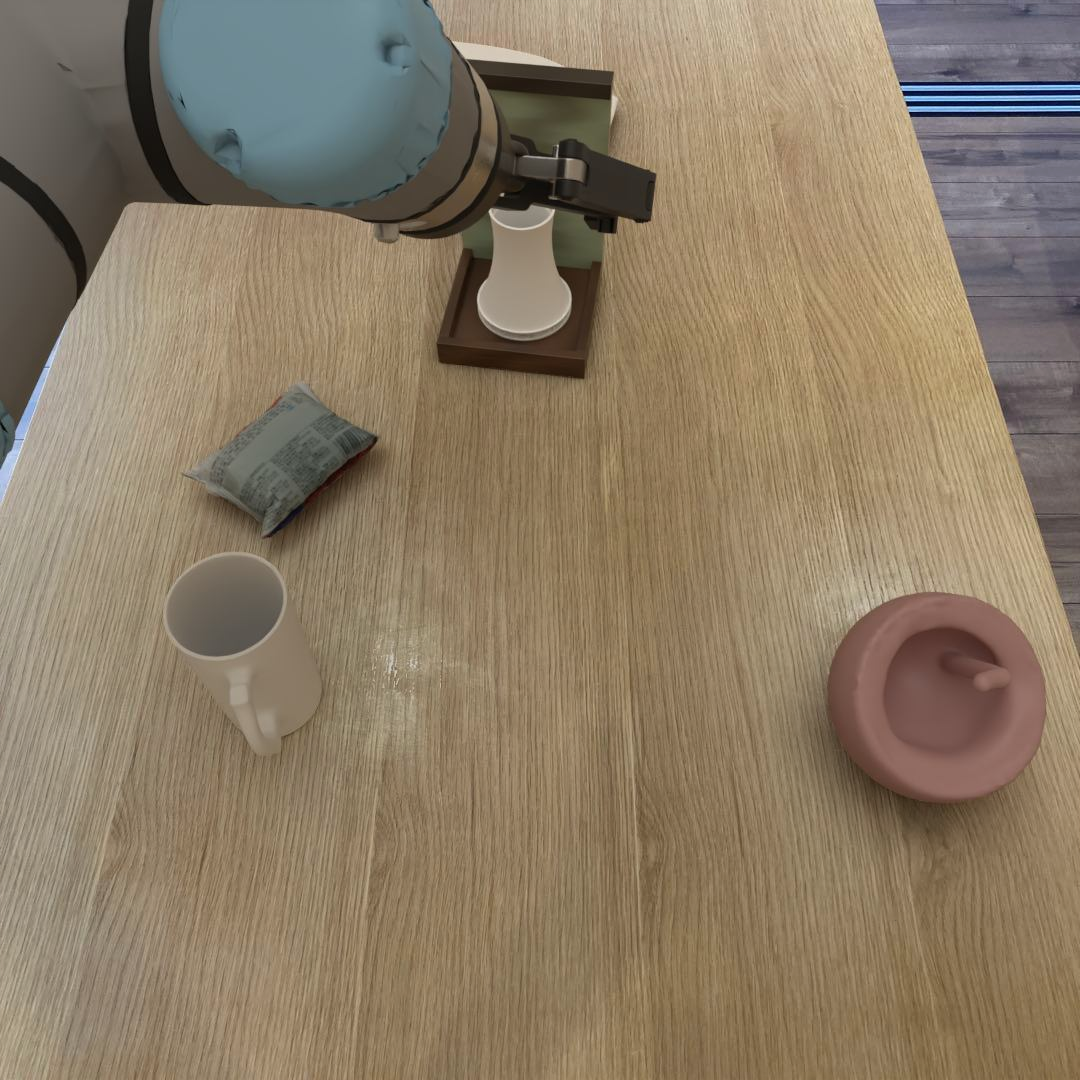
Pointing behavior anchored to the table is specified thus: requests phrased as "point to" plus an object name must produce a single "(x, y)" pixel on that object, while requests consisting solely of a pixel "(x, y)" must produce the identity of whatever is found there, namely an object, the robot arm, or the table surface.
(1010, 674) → the mortar and pestle
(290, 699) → the mug
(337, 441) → the packaged food
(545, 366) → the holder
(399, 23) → the robot arm
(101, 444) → the table surface
